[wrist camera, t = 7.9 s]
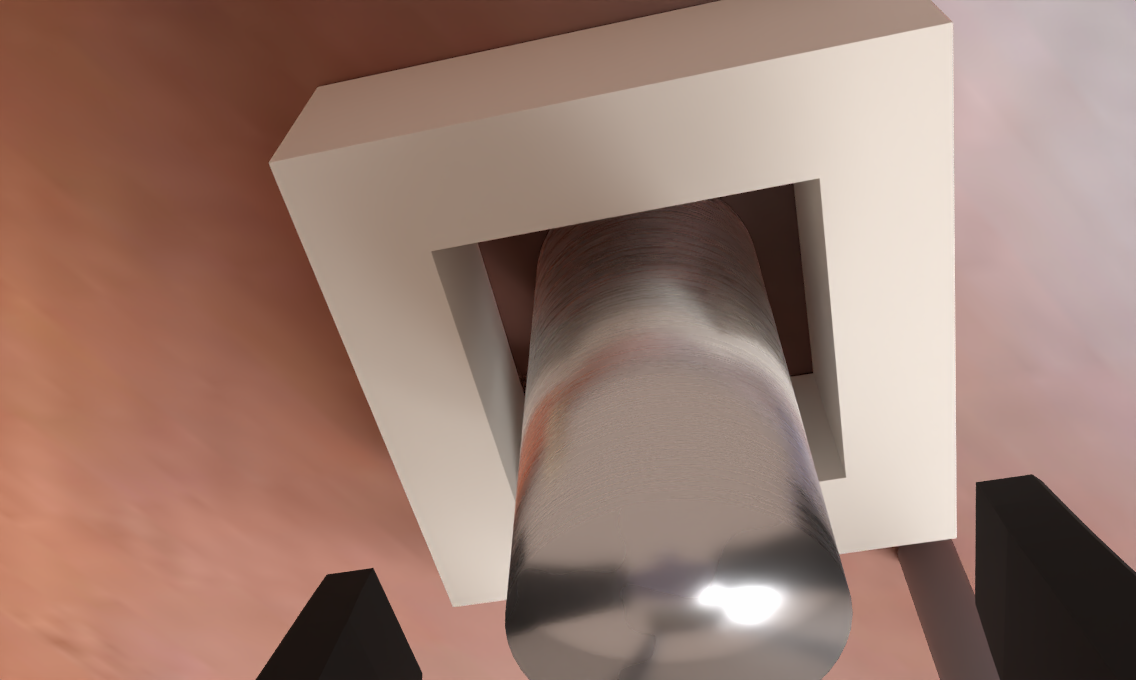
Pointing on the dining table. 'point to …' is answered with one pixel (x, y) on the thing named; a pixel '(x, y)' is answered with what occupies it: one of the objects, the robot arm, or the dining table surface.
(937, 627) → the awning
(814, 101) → the socket block
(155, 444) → the dining table surface
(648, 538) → the peg
